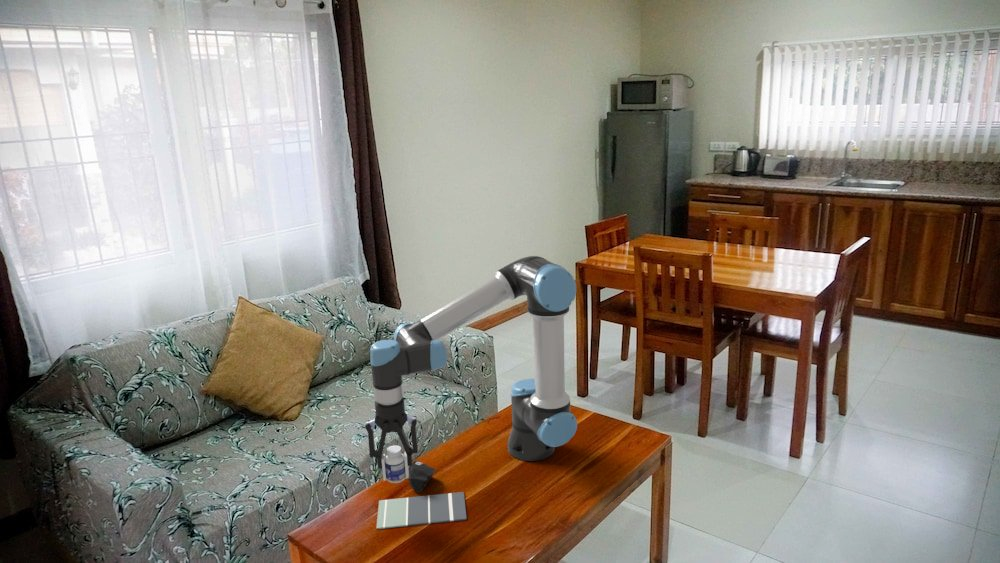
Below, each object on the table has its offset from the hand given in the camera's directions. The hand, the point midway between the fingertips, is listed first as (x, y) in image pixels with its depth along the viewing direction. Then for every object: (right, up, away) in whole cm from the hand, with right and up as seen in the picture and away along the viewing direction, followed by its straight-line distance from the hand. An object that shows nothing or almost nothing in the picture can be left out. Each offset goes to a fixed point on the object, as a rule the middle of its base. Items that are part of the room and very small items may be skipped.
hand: (396, 476), depth 173 cm
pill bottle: (0, -1, 0) cm, 1 cm away
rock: (+5, -7, +17) cm, 19 cm away
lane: (+6, -11, +4) cm, 13 cm away
